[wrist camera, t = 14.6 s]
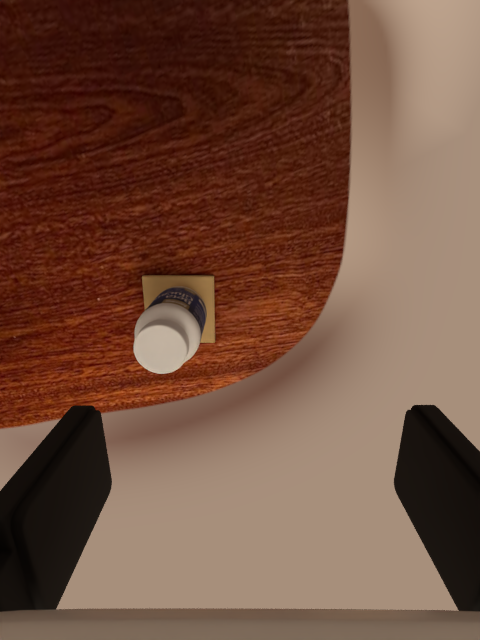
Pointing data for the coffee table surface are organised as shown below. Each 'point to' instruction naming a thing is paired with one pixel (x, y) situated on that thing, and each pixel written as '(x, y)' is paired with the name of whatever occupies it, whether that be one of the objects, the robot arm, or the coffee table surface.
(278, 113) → the coffee table surface
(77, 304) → the coffee table surface
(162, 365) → the pill bottle
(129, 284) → the coffee table surface
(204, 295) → the mat
